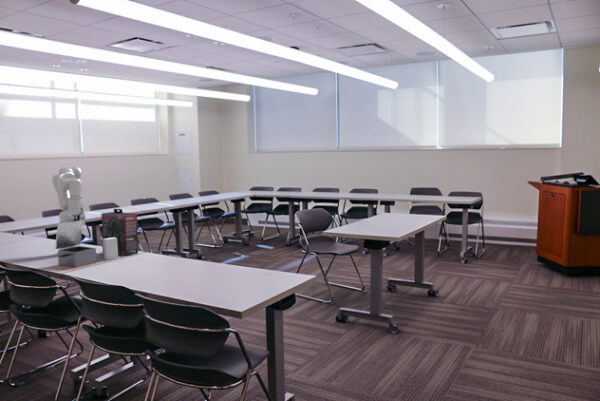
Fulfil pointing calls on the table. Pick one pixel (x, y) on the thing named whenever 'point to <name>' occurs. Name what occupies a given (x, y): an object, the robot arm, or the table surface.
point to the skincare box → (110, 248)
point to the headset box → (121, 230)
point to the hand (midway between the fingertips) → (77, 224)
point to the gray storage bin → (77, 256)
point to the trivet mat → (74, 268)
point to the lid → (69, 234)
